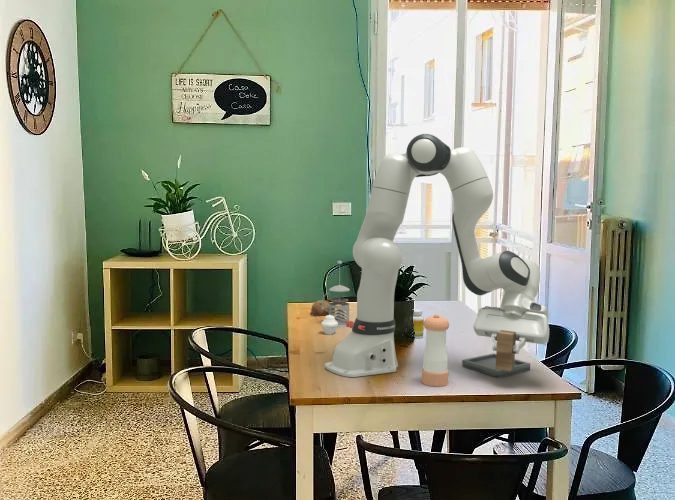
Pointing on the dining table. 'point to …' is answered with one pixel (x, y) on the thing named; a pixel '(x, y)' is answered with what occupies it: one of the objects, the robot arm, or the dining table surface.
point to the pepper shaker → (435, 352)
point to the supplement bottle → (418, 323)
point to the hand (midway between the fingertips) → (505, 351)
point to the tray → (493, 365)
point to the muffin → (329, 324)
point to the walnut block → (505, 350)
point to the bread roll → (320, 308)
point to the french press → (339, 301)
